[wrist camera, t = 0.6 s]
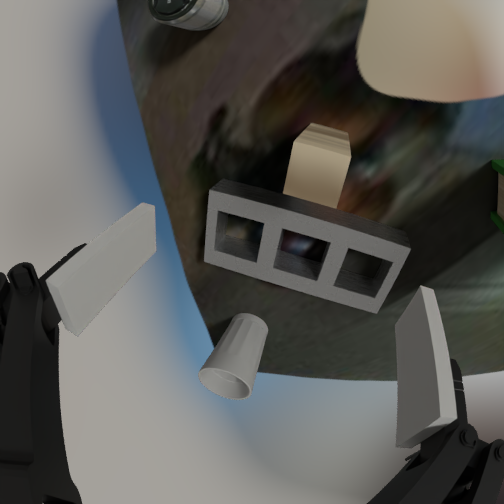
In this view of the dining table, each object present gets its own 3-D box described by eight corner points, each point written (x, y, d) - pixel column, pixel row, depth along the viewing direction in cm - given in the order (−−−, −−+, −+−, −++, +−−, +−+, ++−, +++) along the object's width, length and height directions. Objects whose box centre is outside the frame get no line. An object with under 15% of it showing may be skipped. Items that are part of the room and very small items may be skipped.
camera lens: (180, 35, 26) (140, 28, 20) (183, -8, 23) (144, -23, 16) (230, 30, 25) (198, 17, 18) (233, -16, 21) (202, -38, 15)
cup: (277, 319, 45) (256, 381, 35) (267, 348, 49) (246, 405, 39) (229, 302, 46) (198, 360, 36) (224, 333, 50) (197, 387, 41)
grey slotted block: (222, 178, 35) (209, 189, 32) (405, 231, 31) (411, 248, 28) (216, 245, 41) (203, 261, 37) (375, 293, 37) (376, 313, 34)
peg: (311, 122, 28) (293, 141, 19) (348, 132, 28) (351, 156, 18) (304, 156, 31) (282, 193, 21) (339, 166, 30) (335, 208, 20)
